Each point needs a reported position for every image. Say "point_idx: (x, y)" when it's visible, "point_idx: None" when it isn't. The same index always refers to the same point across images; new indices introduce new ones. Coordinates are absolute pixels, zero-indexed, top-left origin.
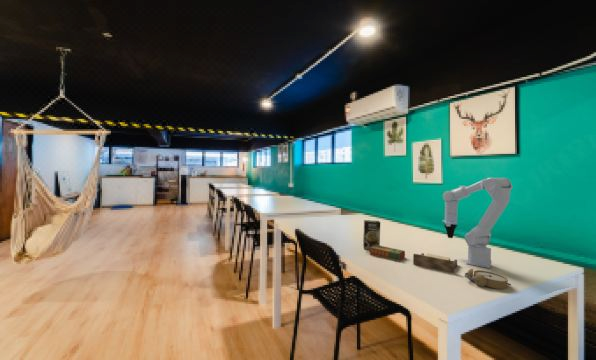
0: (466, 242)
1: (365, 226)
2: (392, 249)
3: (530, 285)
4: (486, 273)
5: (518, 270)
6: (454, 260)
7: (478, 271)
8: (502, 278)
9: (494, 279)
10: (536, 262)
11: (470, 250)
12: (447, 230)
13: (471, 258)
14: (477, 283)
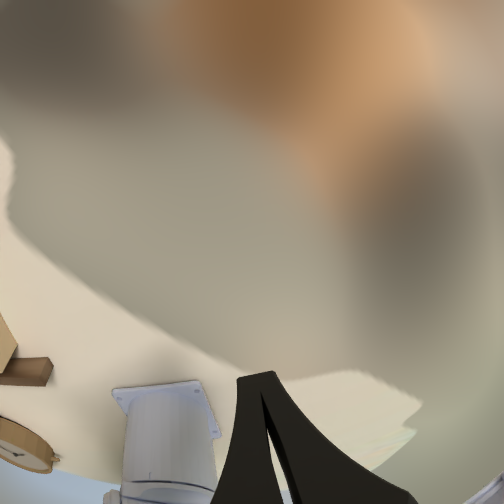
0: (109, 495)
1: None
2: None
3: (109, 482)
4: (25, 451)
5: None
6: (22, 379)
7: (8, 440)
8: (41, 467)
9: (10, 456)
10: (371, 448)
11: (123, 462)
12: (227, 482)
13: (126, 428)
14: None
